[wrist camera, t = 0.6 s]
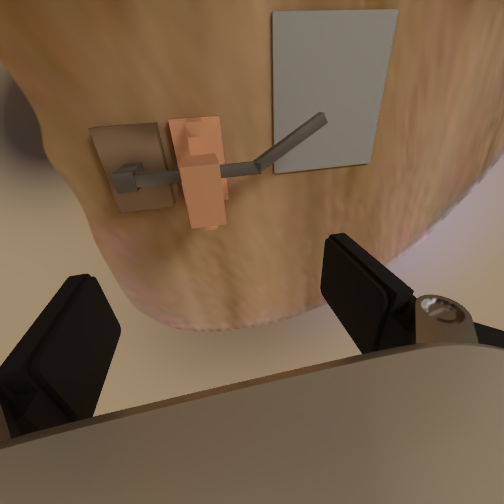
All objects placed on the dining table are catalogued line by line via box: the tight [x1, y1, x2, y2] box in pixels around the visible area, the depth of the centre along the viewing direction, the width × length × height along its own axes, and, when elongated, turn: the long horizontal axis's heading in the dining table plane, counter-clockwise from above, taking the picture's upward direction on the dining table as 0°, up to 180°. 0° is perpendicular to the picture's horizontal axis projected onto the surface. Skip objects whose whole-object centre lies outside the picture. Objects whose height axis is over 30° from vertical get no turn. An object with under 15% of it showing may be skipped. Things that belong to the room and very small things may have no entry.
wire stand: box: [89, 112, 328, 213], centre depth 29 cm, size 10×26×8 cm, turn 93°
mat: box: [272, 9, 399, 174], centre depth 31 cm, size 17×15×1 cm
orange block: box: [168, 116, 229, 231], centre depth 26 cm, size 10×6×15 cm, turn 3°
